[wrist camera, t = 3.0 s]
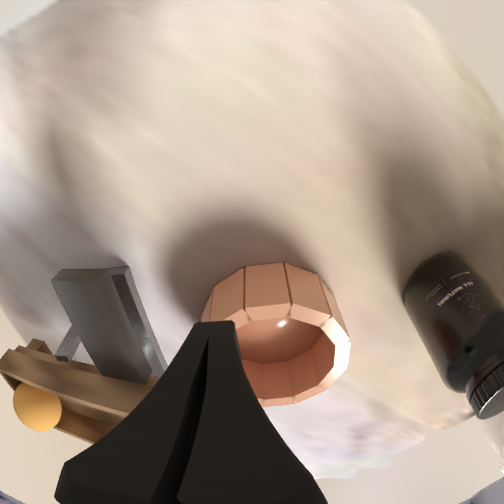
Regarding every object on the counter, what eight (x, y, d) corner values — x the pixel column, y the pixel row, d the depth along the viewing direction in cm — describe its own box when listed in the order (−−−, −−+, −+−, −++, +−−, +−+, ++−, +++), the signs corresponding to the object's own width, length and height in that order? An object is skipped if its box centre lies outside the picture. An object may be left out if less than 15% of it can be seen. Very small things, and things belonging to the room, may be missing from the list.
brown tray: (63, 386, 23) (41, 422, 19) (-10, 257, 16) (-51, 291, 12) (205, 418, 20) (188, 471, 16) (142, 251, 14) (89, 313, 10)
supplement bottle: (430, 238, 20) (527, 348, 10) (479, 263, 22) (561, 356, 11) (385, 310, 24) (444, 434, 13) (438, 324, 25) (496, 426, 14)
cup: (296, 374, 27) (302, 414, 23) (188, 344, 25) (181, 386, 21) (359, 290, 22) (378, 330, 18) (232, 243, 20) (229, 281, 16)
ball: (73, 411, 19) (49, 446, 16) (36, 383, 19) (11, 416, 16) (68, 391, 17) (39, 432, 14) (27, 360, 17) (-3, 396, 14)
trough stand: (116, 376, 27) (95, 438, 20) (64, 273, 21) (17, 335, 15) (172, 376, 27) (159, 445, 20) (128, 266, 21) (88, 338, 15)
